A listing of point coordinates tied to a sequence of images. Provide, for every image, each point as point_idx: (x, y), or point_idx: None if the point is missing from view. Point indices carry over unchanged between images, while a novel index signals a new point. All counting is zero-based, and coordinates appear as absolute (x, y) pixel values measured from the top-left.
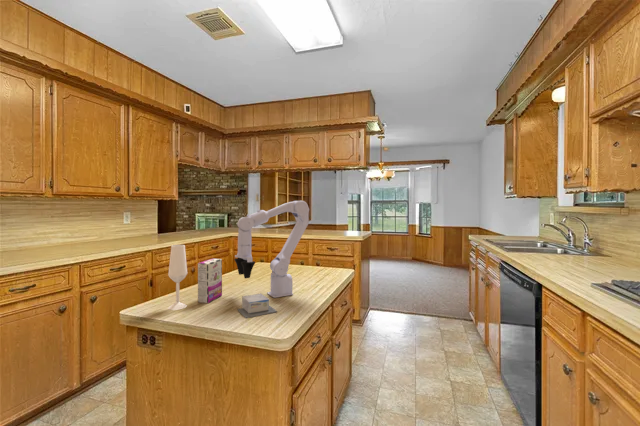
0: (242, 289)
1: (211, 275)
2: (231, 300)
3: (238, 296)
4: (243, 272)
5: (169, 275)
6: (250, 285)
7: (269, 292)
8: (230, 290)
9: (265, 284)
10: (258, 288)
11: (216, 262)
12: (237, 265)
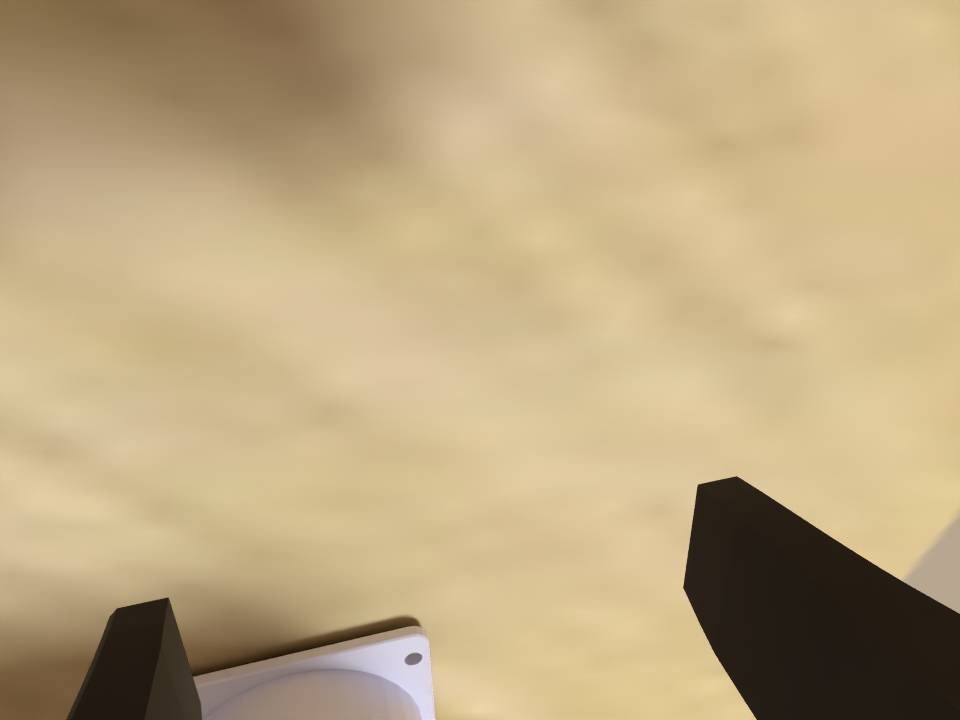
0: (822, 334)
1: None
2: (267, 24)
3: (478, 209)
4: (709, 620)
5: None
6: (926, 461)
7: (399, 660)
8: (899, 139)
9: None
10: None
11: None
12: (950, 680)
